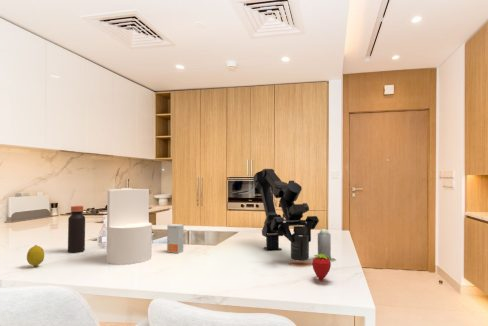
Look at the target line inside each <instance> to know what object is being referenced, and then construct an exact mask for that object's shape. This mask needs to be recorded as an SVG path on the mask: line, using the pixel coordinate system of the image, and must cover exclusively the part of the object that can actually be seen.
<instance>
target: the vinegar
mask: <svg viewBox="0 0 488 326" xmlns="http://www.w3.org/2000/svg"><path fill="white" fill-rule="evenodd" d="M70 212H71V214H70V216H69V217H68V218H67V220H68V221H67V222H68V224H67V229H68V231H67V252H68V253H69V254H71V253H72V254H77V253H82V252H85V250H86V216H85V215H84V214H83V213H84V205H71V207H70Z"/></svg>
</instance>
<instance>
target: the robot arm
mask: <svg viewBox="0 0 488 326" xmlns="http://www.w3.org/2000/svg"><path fill="white" fill-rule="evenodd" d="M253 183H254V185H255V188H257V189H258V190H259V191H260V195H261V200H262V204H263V208H264V209H263V210H264V213H265V219H264V222H263V223H264V224H263V227H262V229H261V234H262V236H263V237H264V238H266V239H265V240H266V242H265V243H266V244H265V246H263V249H264V250H266V251H268V252H272V251H275V252H276V251H282V248H280V246H279V245H280V240H279V237H283V236H284V237H285V238H286V239H287V240H288V241H290V243H291V242H292V243H293V242H294V240H293V237H292V234H293V233H292V232H291V229H290V227H294V226H304V227H306V231H307V232H306V234H307V235H308V236H309V243H310V242H311V240H312V230H314V229H316V227H317V225H318V224H319V222H320V219H319V218H318V216H317V215H308V216H307V217H305V219H302V218H303V217H304V214H305V213H308V212H309V210H310V207H309V205H308V203H307V202H303V203H298V204H297V203H296V204H295V202H296V201H297V200H298V198H299V196H300V194H301V192H302V190H303V188H302V186H301V185H300V184H299V183H297V182H295V180H289V181H288V183H287V182H286V181H285V182H284V181H283V180H281V179H280V177H279V176H278V175H277V174H276V173H275V170H274V169H273V168H263V169H262V170H260V171H258V172H255V174H254V175H253ZM270 187H271V188H272V192H271V188H270ZM272 196H274V198H275V199H279V203H278V208H281V211H282V213H283V214H282V215H281V214H277V212H276V207H275V203H274V200H273V197H272Z"/></svg>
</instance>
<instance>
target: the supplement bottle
mask: <svg viewBox="0 0 488 326" xmlns="http://www.w3.org/2000/svg"><path fill="white" fill-rule="evenodd" d="M306 232H307V231H306V227H304V226H293V233H291V234H292V237H293V240H294V242H293V243H292V242H290V258H291V259H292V261H308V260H309V256H310V242H309V236H308V235H307V234H306Z"/></svg>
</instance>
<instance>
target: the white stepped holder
mask: <svg viewBox="0 0 488 326" xmlns="http://www.w3.org/2000/svg"><path fill="white" fill-rule="evenodd" d="M106 192H107V194H106V195H107V196H106V197H107V205H106V207H107V208H106V210H107V211H106V213H107V215H106V263H108V264H111V265H119V266H120V265H121V266H122V265H126V266H127V265H135V264H136V265H137V264H141V263H145V262H149V260H152V258H151V257H152V256H153V255H152V254H153V253H152V252H153V251H152V245H153V243H152V241H153V240H152V239H153V232H152V231H153V223H152V222H150V219H149V217H150V212H149V211H150V188H120V189H119V188H117V189H115V188H114V189H108V190H107V191H106Z"/></svg>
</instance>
